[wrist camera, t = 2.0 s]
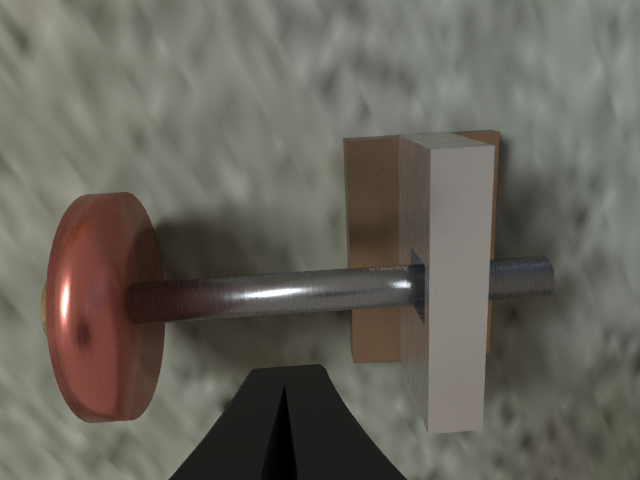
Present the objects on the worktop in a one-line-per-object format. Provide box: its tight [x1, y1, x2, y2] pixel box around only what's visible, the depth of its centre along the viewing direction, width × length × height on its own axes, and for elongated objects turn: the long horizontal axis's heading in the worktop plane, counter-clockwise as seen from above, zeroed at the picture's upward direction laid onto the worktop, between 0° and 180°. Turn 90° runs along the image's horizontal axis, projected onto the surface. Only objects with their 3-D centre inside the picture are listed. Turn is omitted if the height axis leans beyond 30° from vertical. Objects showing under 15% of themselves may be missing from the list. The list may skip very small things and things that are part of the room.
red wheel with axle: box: [40, 192, 554, 423], centre depth 15 cm, size 14×6×6 cm, turn 93°
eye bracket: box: [343, 130, 500, 434], centre depth 16 cm, size 5×8×5 cm, turn 3°
